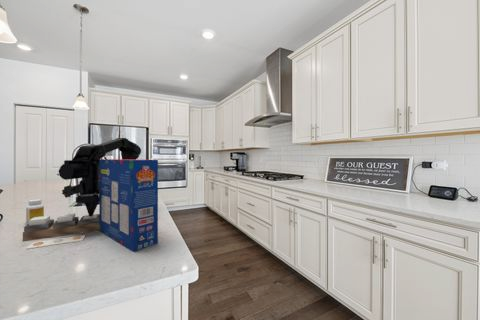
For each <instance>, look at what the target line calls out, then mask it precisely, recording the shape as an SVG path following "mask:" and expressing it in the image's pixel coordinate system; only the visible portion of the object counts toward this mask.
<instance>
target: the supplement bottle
mask: <svg viewBox="0 0 480 320" xmlns="http://www.w3.org/2000/svg"><path fill="white" fill-rule="evenodd" d="M44 207H45V206H44V204H42V199H40V198H39V199H31V200H28V205H27V206H26V209H25V211H26V214H25V217H26V220H25V221H26V225H27V224H29V220H31V219H32V218H34V217H42V216H45V208H44Z"/></svg>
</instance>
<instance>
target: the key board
mask: <svg viewBox="0 0 480 320" xmlns="http://www.w3.org/2000/svg"><path fill="white" fill-rule="evenodd" d="M97 214H98V213H97ZM84 216H85V215H82V217H81V218H80V217H79V216H75V220H74V221H66V222H58V223H57V219H56V220H55V218H53V219H50V222H48V223H47V224H40V225H31V226H29V224H27V223H26V225H24V226H23V232H22V242H26V241H27V242H29V241H33V240H39V239H40V240H41V239H48V238H55V237H62V236H69V235H78V234H83V233H92V232H93V233H94V232H100V231H99V214H98V218H93V219H84V220H83V217H84Z"/></svg>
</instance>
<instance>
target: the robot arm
mask: <svg viewBox="0 0 480 320" xmlns="http://www.w3.org/2000/svg"><path fill="white" fill-rule="evenodd" d="M117 149H118V151H119V152H120V156H121V159H132V160H138V159H139V157H140V155H141V154H142V149H141V147H140V146H139V145H138V144H136V143H135V142H134V141H131V140H130V139H128V138H127V137H117V138H115V139H112V140H109V141H105V142H102V143H99V144H87V145H86V144H85V145H82V146H79V149H78V151H77V152H76V153H75V155H74V157H73V158H72V159H69V160H68V159H67V160H65V159H64V160H63V163H62V165H60V167H59V169H58V175H59V177H60V178H61V179H63V180H65V181H66V180H67V181H68V180H74V179H80V180H79V184H75V185H71V184H69V185H66V186H64V187H63V189H62V190H61V192H62V193H61V195H63V196H64V197H65V199H66V198H70V197H71V196H75V195H76V194H78V195H77V196H75V204H80V203H81V204H83V205H85V208H86V211H87V215H89V216H93V214H95V212H96V209H97V207H98V205H99V159H104V157H106V154H108V153H109V152H112V151H115V150H117Z"/></svg>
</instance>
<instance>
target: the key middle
mask: <svg viewBox="0 0 480 320" xmlns="http://www.w3.org/2000/svg"><path fill="white" fill-rule="evenodd" d="M75 217H76V212H74V213H73V212H72V213H65V214H60V215H59V216H57V217H56V220H57V223H58V222H66V221H74V220H75Z"/></svg>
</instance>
